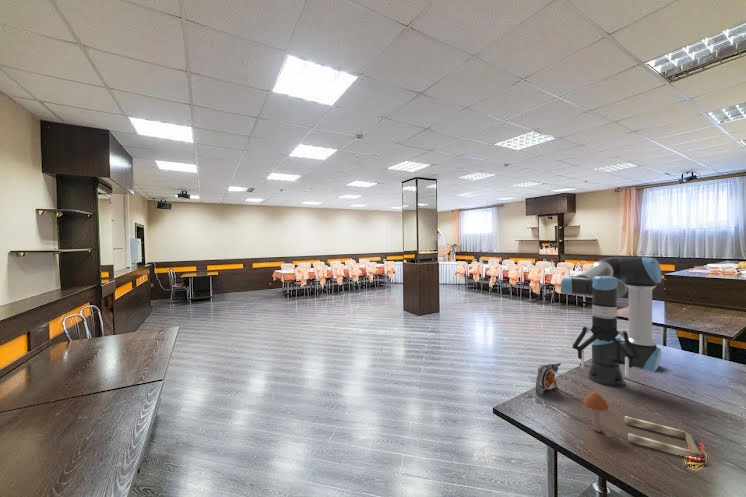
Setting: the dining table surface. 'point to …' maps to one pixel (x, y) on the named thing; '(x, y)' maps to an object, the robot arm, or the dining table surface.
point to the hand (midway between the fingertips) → (603, 371)
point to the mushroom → (595, 408)
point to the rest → (660, 445)
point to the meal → (546, 377)
